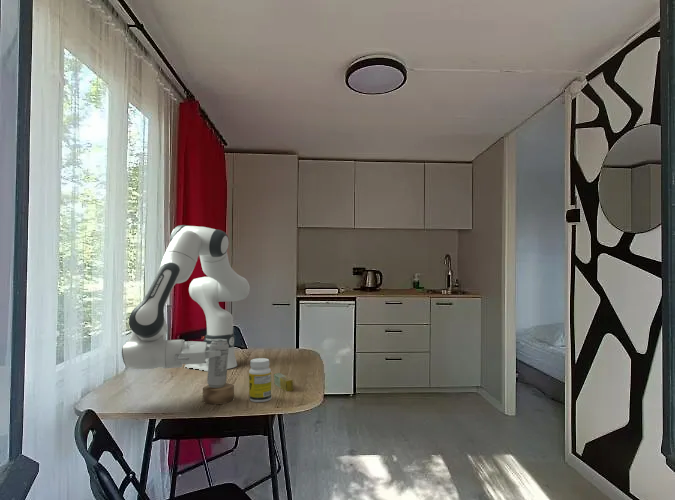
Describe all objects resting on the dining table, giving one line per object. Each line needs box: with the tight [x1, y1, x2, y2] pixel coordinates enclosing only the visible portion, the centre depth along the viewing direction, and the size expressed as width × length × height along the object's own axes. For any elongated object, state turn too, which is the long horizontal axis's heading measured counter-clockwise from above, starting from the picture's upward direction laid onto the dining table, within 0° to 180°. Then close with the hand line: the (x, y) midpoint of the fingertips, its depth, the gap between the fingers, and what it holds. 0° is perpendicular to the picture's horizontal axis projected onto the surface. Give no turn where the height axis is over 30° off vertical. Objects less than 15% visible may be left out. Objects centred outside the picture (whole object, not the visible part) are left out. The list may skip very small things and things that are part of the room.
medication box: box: [273, 372, 294, 392], centre depth 169 cm, size 12×3×4 cm, turn 29°
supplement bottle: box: [248, 357, 273, 403], centre depth 154 cm, size 7×7×13 cm
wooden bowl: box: [202, 382, 235, 405], centre depth 155 cm, size 10×10×4 cm
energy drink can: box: [206, 339, 229, 388], centre depth 155 cm, size 6×6×15 cm
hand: (220, 351), depth 155 cm, fingers closed on energy drink can, 5 cm apart
